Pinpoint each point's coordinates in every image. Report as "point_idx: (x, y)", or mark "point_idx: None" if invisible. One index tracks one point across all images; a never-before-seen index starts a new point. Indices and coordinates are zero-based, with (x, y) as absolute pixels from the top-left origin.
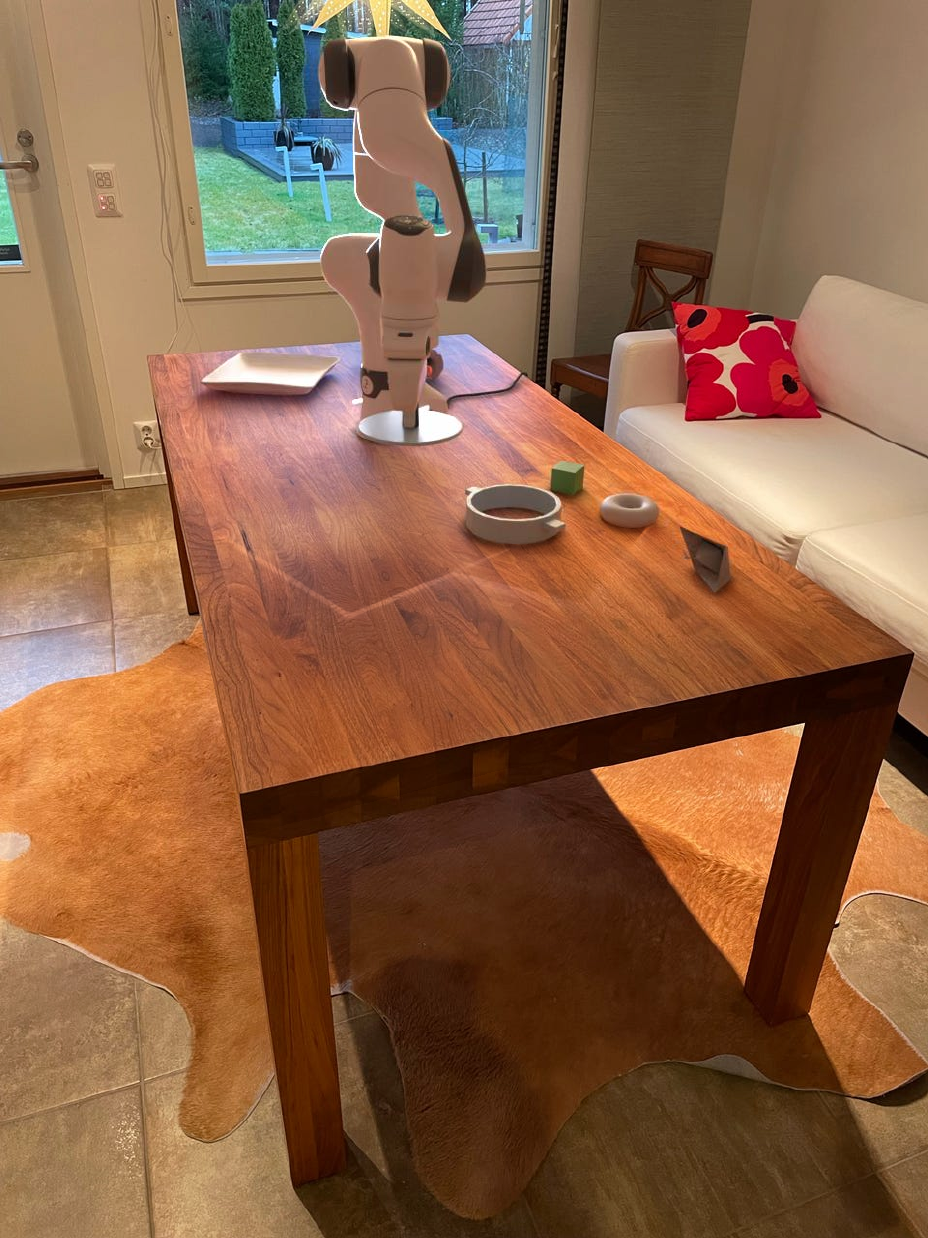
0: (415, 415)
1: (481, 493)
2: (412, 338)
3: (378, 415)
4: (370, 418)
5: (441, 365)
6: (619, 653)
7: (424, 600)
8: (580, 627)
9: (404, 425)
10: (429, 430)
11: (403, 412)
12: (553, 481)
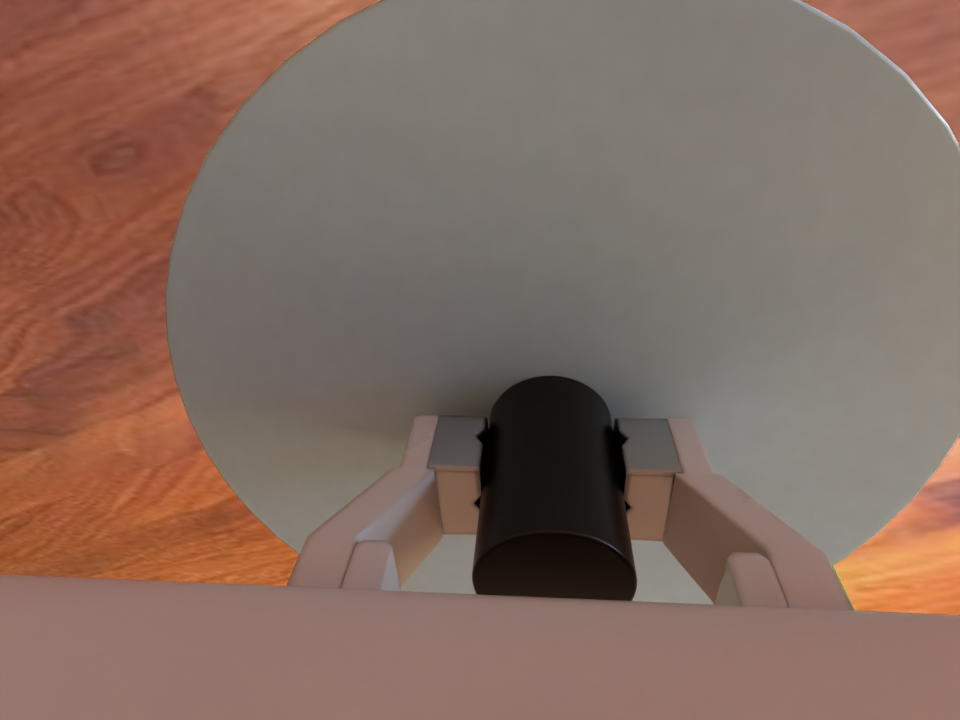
0: (474, 526)
1: None
2: None
3: (859, 131)
4: (759, 56)
5: None
6: (61, 576)
7: (45, 283)
8: (108, 541)
9: (413, 421)
10: None
11: (356, 503)
12: None
